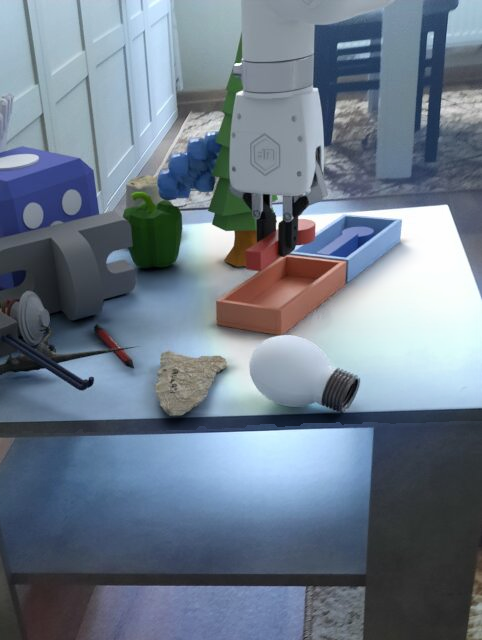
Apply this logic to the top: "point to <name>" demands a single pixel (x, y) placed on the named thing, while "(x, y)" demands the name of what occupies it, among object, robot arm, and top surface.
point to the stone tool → (185, 380)
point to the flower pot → (142, 190)
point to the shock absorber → (27, 316)
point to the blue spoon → (348, 242)
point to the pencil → (113, 346)
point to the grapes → (190, 169)
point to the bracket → (70, 264)
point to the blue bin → (359, 260)
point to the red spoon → (276, 246)
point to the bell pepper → (154, 232)
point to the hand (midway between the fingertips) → (277, 250)
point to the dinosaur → (28, 364)
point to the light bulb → (300, 374)
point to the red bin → (281, 294)
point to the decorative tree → (224, 203)
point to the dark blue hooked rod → (34, 353)
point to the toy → (39, 189)
